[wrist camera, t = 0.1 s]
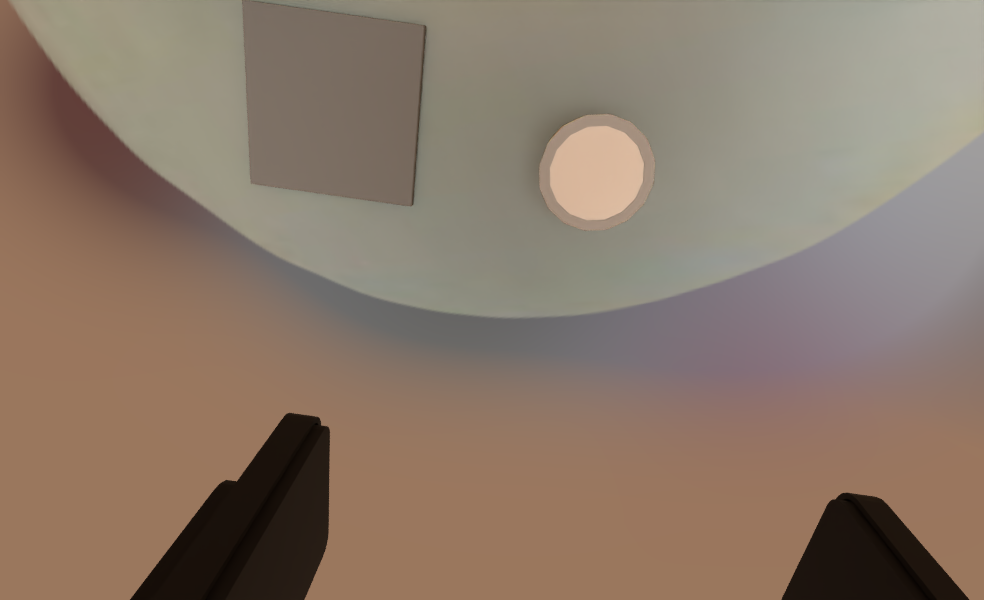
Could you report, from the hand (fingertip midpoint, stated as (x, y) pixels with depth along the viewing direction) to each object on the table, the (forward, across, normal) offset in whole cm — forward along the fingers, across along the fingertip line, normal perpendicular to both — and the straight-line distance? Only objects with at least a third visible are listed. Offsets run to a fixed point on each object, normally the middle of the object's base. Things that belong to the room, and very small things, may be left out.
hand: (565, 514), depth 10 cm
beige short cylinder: (+31, -3, -3) cm, 32 cm away
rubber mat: (+31, +15, -4) cm, 35 cm away
